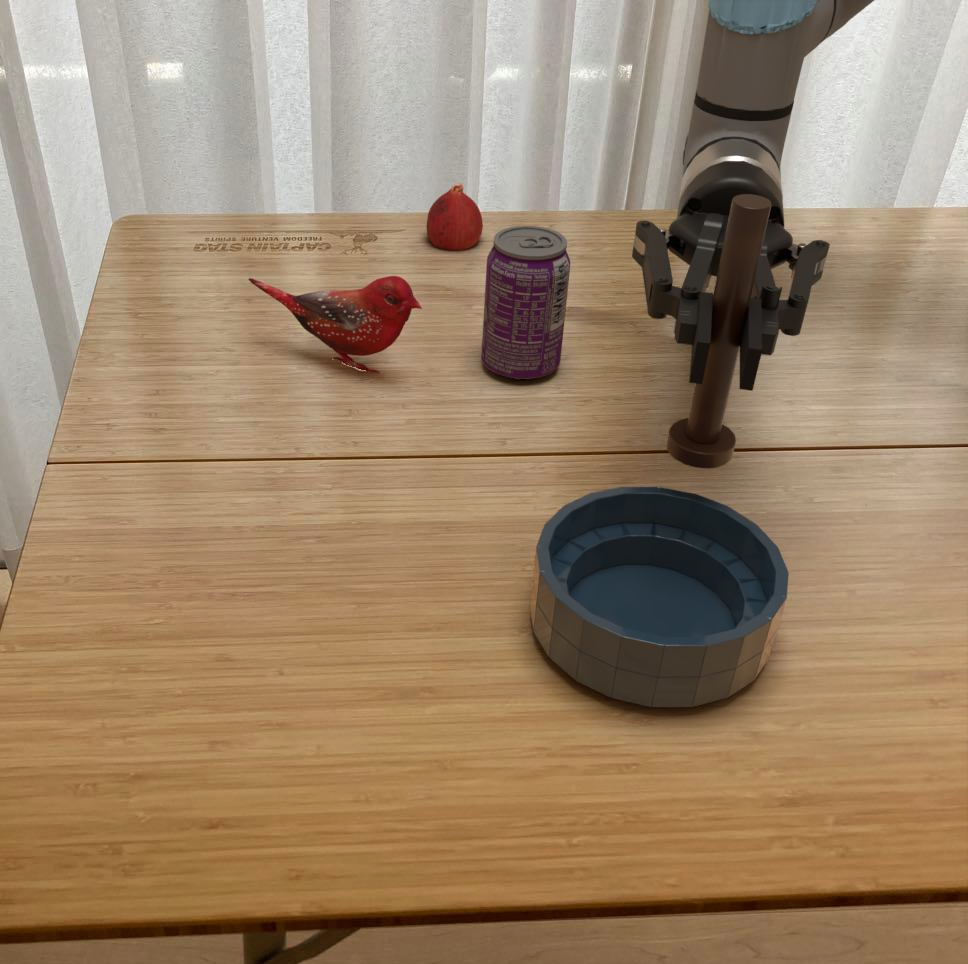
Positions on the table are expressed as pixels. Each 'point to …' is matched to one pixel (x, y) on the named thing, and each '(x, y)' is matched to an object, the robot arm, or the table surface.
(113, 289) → the table surface
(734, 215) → the stirring stick
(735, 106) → the robot arm
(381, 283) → the decorative bird figurine
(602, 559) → the bowl
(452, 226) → the red pomegranate
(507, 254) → the beverage can
